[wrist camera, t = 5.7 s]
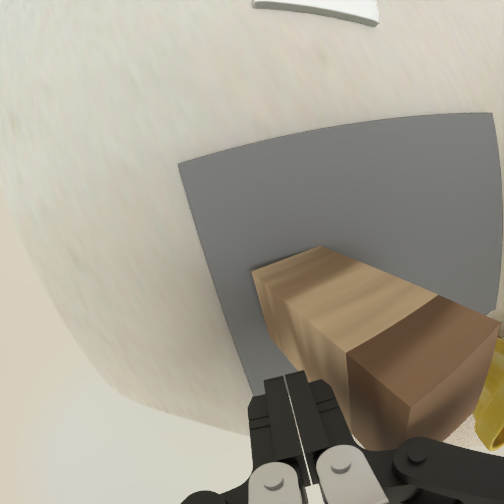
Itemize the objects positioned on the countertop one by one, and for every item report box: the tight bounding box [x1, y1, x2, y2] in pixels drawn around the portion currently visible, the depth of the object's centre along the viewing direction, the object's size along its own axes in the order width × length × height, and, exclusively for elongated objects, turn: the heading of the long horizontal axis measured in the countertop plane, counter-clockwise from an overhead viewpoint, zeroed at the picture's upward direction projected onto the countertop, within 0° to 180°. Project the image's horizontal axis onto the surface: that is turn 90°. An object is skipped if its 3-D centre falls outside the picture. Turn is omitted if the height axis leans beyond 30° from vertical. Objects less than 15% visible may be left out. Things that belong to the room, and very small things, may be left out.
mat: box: [178, 113, 503, 396], centre depth 19 cm, size 18×24×1 cm
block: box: [251, 246, 501, 451], centre depth 12 cm, size 4×4×12 cm
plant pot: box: [472, 338, 504, 451], centre depth 19 cm, size 10×10×10 cm
